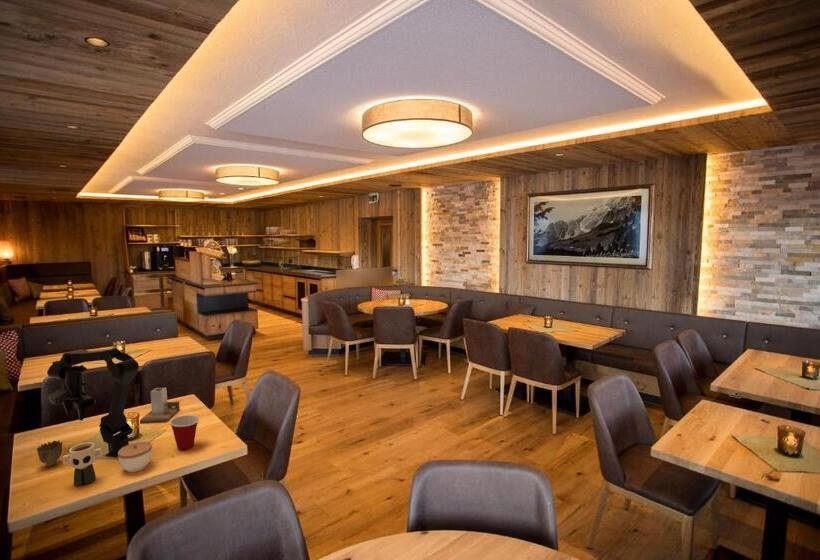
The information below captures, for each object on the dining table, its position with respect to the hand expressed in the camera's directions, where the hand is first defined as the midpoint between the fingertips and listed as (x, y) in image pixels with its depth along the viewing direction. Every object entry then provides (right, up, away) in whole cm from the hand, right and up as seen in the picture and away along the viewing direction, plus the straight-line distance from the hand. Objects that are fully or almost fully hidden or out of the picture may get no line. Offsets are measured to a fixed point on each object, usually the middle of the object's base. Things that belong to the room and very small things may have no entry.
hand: (75, 417), depth 172 cm
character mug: (+22, -16, -23) cm, 36 cm away
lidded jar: (+35, -15, -15) cm, 40 cm away
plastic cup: (+45, -13, +1) cm, 47 cm away
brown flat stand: (+17, -10, +30) cm, 36 cm away
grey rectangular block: (+17, -8, +30) cm, 36 cm away
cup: (+1, -14, -12) cm, 19 cm away
